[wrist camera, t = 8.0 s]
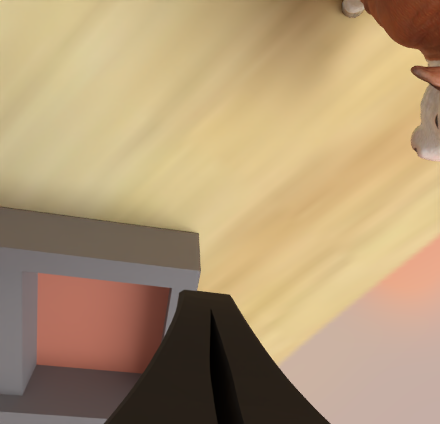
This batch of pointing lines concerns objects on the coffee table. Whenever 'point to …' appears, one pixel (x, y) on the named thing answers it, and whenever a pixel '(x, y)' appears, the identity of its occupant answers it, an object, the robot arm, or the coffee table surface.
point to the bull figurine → (418, 39)
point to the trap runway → (83, 311)
